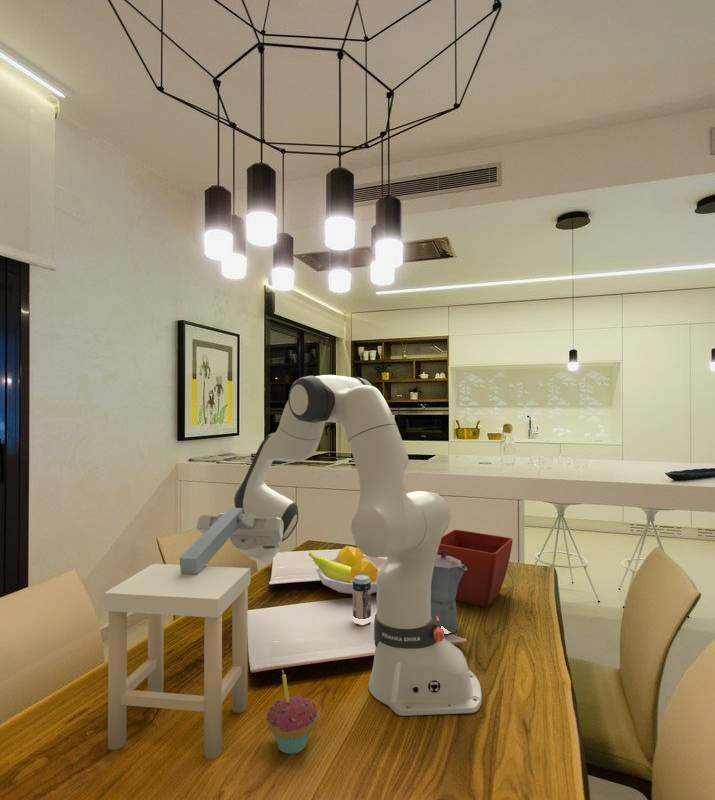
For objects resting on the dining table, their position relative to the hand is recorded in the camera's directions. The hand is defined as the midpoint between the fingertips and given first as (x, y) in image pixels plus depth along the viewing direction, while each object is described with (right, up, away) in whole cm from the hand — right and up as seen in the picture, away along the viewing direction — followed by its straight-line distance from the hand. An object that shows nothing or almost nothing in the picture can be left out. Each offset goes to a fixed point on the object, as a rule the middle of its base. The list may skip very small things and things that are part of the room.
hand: (230, 516), depth 110 cm
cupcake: (+18, -32, -27) cm, 46 cm away
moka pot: (+50, -33, +16) cm, 61 cm away
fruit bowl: (+28, -33, +44) cm, 62 cm away
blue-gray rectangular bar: (-1, -4, -8) cm, 9 cm away
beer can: (+30, -33, +19) cm, 48 cm away
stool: (-3, -32, -23) cm, 39 cm away
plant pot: (+63, -33, +36) cm, 80 cm away
